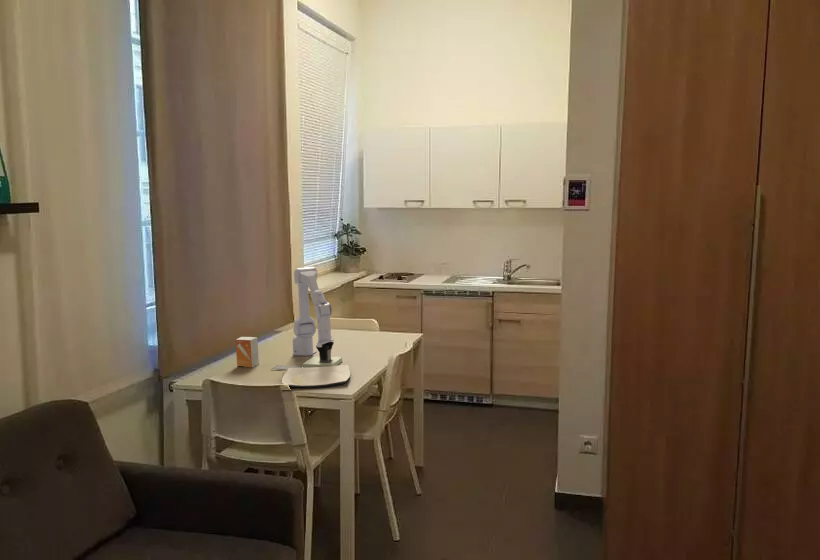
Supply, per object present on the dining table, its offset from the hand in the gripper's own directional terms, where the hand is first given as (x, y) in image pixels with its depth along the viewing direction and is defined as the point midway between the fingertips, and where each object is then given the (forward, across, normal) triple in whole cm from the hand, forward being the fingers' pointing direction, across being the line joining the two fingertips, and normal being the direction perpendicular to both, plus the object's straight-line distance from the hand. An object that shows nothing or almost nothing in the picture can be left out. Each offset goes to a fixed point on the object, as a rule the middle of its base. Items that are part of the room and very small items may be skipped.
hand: (325, 359), depth 311 cm
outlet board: (+3, +1, +2) cm, 4 cm away
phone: (+4, -7, +16) cm, 18 cm away
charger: (+2, 0, 0) cm, 2 cm away
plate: (+4, -22, -4) cm, 23 cm away
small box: (+3, -4, +37) cm, 37 cm away
